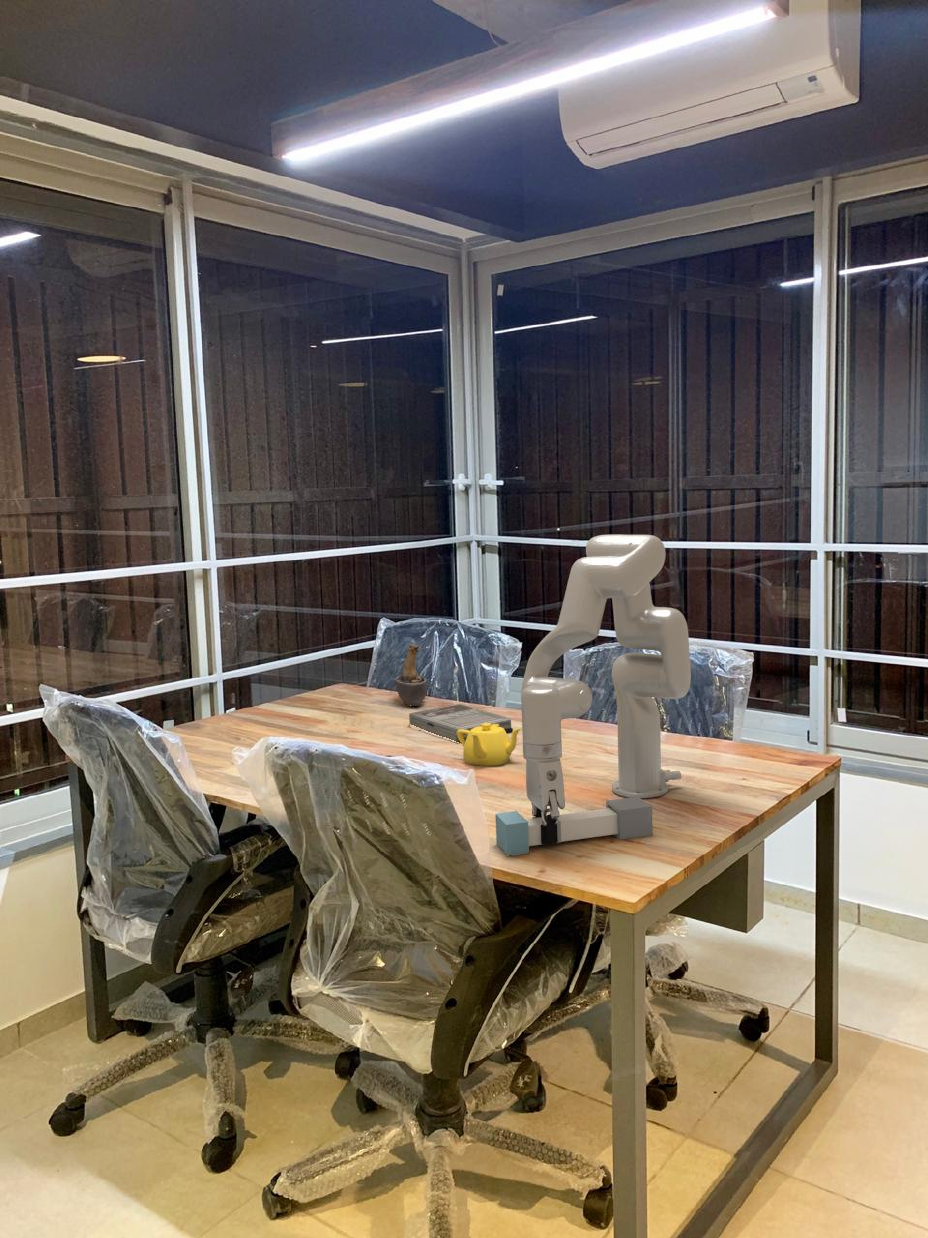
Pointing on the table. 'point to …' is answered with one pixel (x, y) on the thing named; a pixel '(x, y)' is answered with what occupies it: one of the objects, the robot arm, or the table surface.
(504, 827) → the socket
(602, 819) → the bar
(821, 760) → the table surface
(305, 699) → the table surface
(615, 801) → the sleeve
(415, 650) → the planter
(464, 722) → the hard drive
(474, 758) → the teapot
